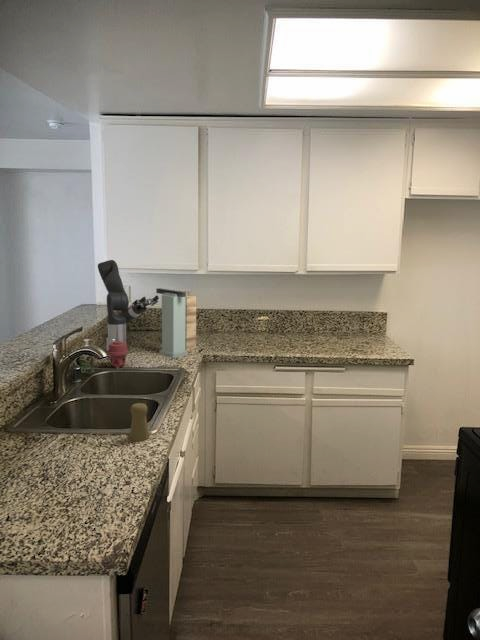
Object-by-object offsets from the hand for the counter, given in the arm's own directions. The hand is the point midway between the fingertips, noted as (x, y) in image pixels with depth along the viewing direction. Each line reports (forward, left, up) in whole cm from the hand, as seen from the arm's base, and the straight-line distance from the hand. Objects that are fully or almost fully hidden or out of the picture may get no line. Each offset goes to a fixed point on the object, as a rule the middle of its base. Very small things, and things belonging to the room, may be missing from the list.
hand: (151, 297), depth 270 cm
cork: (-77, -100, -29) cm, 129 cm away
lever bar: (0, -18, +3) cm, 18 cm away
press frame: (0, -20, -29) cm, 35 cm away
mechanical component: (-36, -23, -29) cm, 52 cm away
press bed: (+14, -13, -29) cm, 34 cm away
